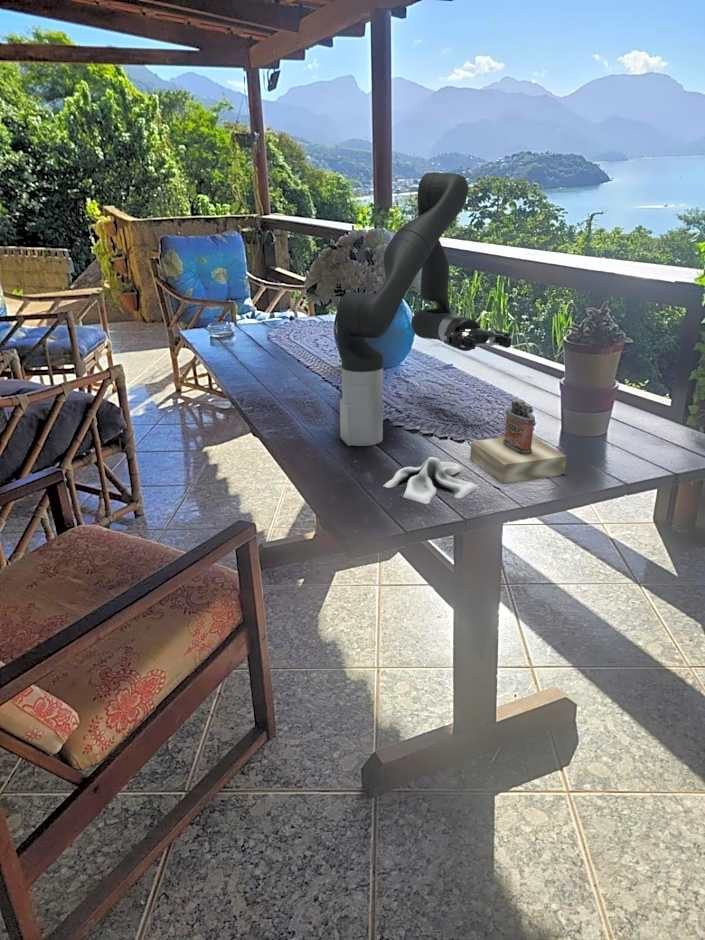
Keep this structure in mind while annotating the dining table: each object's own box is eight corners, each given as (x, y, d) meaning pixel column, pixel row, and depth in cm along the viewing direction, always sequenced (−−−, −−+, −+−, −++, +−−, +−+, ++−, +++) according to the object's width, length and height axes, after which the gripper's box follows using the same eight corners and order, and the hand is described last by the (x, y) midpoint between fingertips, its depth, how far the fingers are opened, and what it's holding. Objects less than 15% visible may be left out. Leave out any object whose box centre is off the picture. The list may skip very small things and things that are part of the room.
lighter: (499, 443, 140) (503, 397, 136) (513, 441, 141) (517, 395, 137) (521, 456, 133) (525, 408, 129) (535, 453, 134) (540, 406, 130)
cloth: (452, 461, 143) (453, 434, 141) (498, 494, 127) (500, 464, 125) (355, 476, 136) (354, 448, 134) (391, 513, 120) (391, 482, 118)
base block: (502, 483, 130) (504, 464, 129) (470, 458, 143) (471, 441, 141) (564, 474, 134) (566, 456, 133) (527, 451, 147) (529, 434, 145)
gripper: (433, 317, 157) (463, 327, 142) (487, 315, 161) (522, 325, 146) (431, 349, 160) (460, 362, 145) (484, 346, 164) (518, 359, 149)
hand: (491, 343), depth 146 cm, fingers open, 8 cm apart
